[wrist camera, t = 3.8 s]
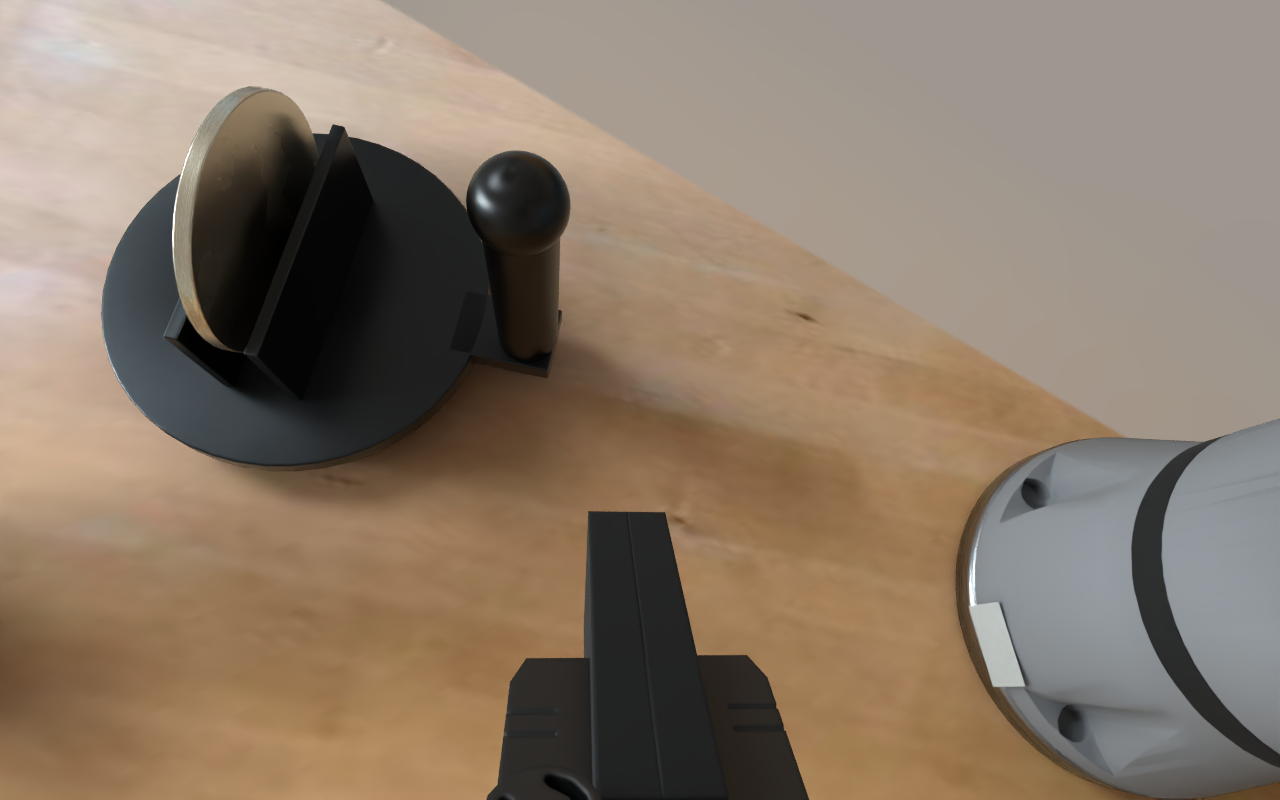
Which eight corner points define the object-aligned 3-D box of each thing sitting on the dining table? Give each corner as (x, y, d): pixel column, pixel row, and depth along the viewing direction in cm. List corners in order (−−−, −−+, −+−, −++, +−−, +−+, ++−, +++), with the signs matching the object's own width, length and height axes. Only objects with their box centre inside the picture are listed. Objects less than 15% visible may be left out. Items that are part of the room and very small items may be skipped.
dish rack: (597, 202, 36) (621, -17, 24) (523, 523, 31) (506, 445, 19) (195, 113, 35) (11, -162, 23) (48, 429, 30) (-288, 283, 18)
